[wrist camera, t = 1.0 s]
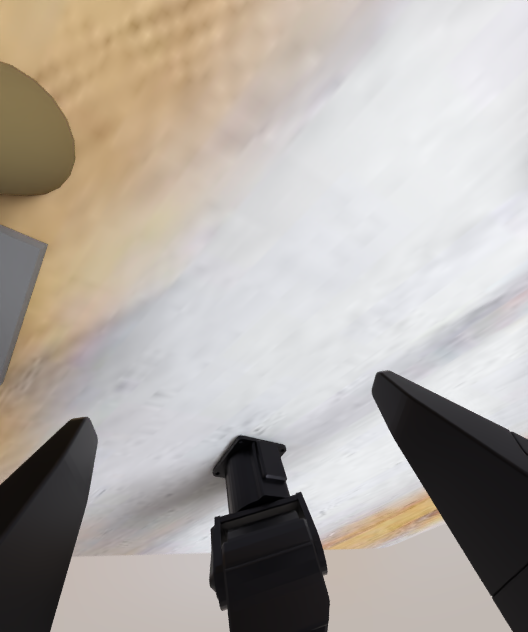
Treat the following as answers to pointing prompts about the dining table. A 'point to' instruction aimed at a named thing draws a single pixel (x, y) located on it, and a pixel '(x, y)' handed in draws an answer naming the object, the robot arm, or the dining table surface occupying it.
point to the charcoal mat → (15, 286)
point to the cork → (31, 137)
